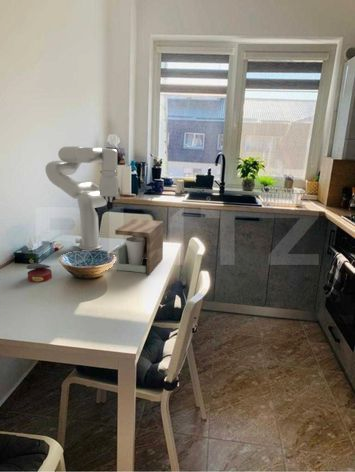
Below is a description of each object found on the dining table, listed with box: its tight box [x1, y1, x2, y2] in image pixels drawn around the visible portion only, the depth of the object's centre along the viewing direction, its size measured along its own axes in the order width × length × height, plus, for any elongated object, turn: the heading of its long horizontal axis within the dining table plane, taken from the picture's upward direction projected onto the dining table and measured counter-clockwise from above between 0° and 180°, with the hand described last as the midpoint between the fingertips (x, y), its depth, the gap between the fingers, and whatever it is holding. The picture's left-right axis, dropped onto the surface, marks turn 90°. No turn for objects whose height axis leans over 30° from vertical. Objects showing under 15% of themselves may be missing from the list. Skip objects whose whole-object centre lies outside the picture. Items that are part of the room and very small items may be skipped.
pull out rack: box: [106, 241, 147, 274], centre depth 175 cm, size 20×20×10 cm
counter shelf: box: [114, 218, 164, 276], centre depth 173 cm, size 16×24×20 cm, turn 168°
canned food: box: [25, 262, 53, 283], centre depth 156 cm, size 11×10×10 cm
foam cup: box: [125, 236, 145, 266], centre depth 175 cm, size 10×9×13 cm
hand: (110, 209), depth 186 cm, fingers closed
